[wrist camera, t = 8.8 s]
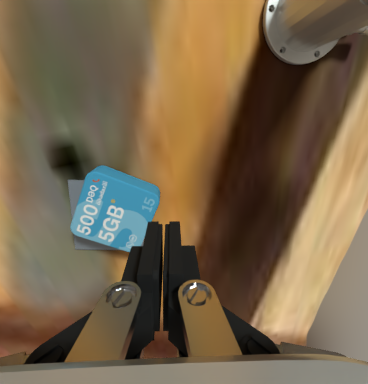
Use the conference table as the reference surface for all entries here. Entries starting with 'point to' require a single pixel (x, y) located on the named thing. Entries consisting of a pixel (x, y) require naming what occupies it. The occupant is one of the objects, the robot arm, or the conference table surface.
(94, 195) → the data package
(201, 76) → the conference table surface
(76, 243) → the felt pad
